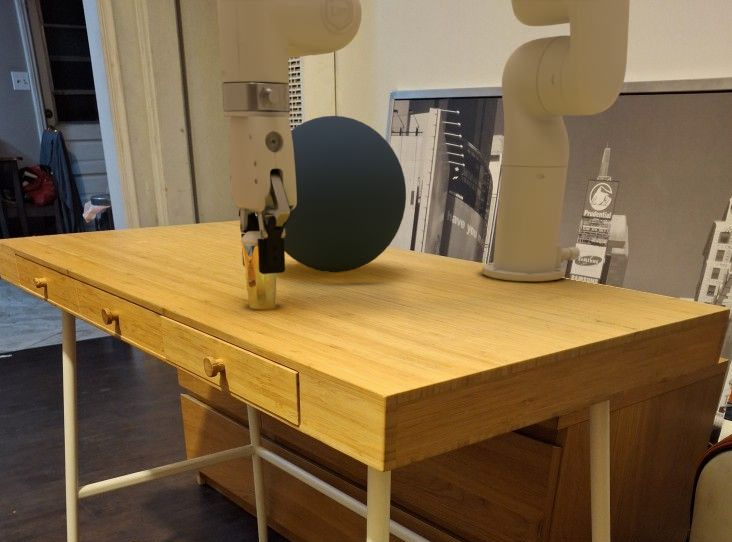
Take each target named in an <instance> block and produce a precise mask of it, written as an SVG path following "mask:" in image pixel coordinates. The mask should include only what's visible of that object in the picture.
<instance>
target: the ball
mask: <svg viewBox="0 0 732 542" xmlns="http://www.w3.org/2000/svg"><path fill="white" fill-rule="evenodd" d="M291 134H292V140H293V149H294V160H295V175H296V193H297V205H296V207H295V208H294V209H293V210H290V215H289V217H288V219H287V220H286V221H287V222H286V225H285V238H284V249H285V254H287V255H288V256H289V257H290V258H291V259H293V260H294V261H296V262H297V263H299V264H300V265H302V266H304V267H306V268H309V269H312V270H315V271H319V272H321V273H332V274H333V273H334V274H335V273H347V272H350V271H354V270H358V269H360V268H362V267H364V266H366V265H368V264H370V263H371V262H372V261H374V260H376V259H377V258H378V257H379V256H380V255H382V254H383V253H384V252H385V250H387V249H388V248H389V246H391V243H392V242H393V240H394V239H395V237H396V235H397V233H398V232H399V230H400V227H401V225H402V222H403V219H404V215H405V211H406V210H405V209H406V203H407V202H406V201H407V185H406V178H405V175H404V171H403V167H402V165H401V163H400V160H399V158H398V156H397V154H396V152H395V151H394V149H393V148H392V146H391V145H390V144H389V142H388V141H387V140H386V139H385V138H384V137H383V136H382V135H381V134H380V133H379V132H378V131H376V130H375V129H374V128H372V127H371V126H370V125H368V124H366V123H365V122H362V121H360V120H357V119H355V118H352V117H348V116H342V115H324V116H319V117H315V118H311V119H309V120H306V121H304V122H302V123H301V124H298V125H297V126H295V127H294V128H293V129H291ZM271 209H274V208H273V207H269V206H265V210H271ZM269 217H270V216H267V217H266V221H267V223H268V220H269Z"/></svg>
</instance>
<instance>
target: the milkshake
mask: <svg viewBox="0 0 732 542" xmlns="http://www.w3.org/2000/svg"><path fill="white" fill-rule="evenodd" d="M243 234H244V233H243ZM258 239H261V235H260V231H249V232H247V233H245V234H244V236H243V237H242V238H241V240H240V244H241V252H242V251H243V257H242V259H243V258H244V266H243V267H244V273H245V281H246V291H247V300H248V306H249V307H250V308H251V309H253V310H270V309H274V308H275V307H276V300H277V299H276V298H277V274H278V273H271V274H262V273H260V272H259V257H258Z"/></svg>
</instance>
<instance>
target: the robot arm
mask: <svg viewBox="0 0 732 542" xmlns="http://www.w3.org/2000/svg"><path fill="white" fill-rule="evenodd" d="M510 1H511V7H512V11H513V15H514V16H515V18H516V19H517V21H518V22H520V24H522V25H525V26H529V27H548V26H555V25H563V24H569V35H555V36H548V37H547V36H546V37H540V38H536V39H532V40H529V41H527V42H524V43H522V44H520V46H518V47H517V48H516V49H515V50H514V51H513V52H512V53H511V54H510V56H509V57H508V59H507V60H506V63H505V65H504V68H503V72H502V77H501V97H502V107H503V126H504V127H503V146H502V147H503V149H502V159H501V160H502V161H501V168H500V180H499V189H498V191H499V192H498V202H497V213H496V214H497V215H496V225H495V237H494V249H493V260H492V262H489V263H485V264H484V265H482V271H481V273H482V274H483V275H485V276H486V277H489V278H493V279H498V280H504V281H505V280H506V281H515V282H550V281H556V280H560V279H563V278H564V277H565V274H566V268H564V267H563V266H561V264H562V263H564V262H565V261H576V260H578V259H579V258H580V256H581V250H580V249H579V247H577V246H571V247H565V248H564V245H563V244H561V243H559V238H560V231H561V223H562V214H563V207H564V199H565V191H566V183H567V174H568V168H569V160H570V141H569V140H570V139H569V135H568V131H567V127H566V125H565V121H564V117H565V116H593V115H597V114H600V113H603V112H606V110H608V109H609V108H611V106H613V105H614V103H615V102H616V101H617V99H618V97H619V95H621V91H622V88H623V86H624V81H625V77H626V72H627V61H628V44H629V24H630V5H631V0H510ZM216 6H217V18H218V19H217V22H218V36H219V54H220V71H221V83H222V84H221V89H222V102H223V104H222V105H223V106H222V107H223V118H229V128H228V156H229V157H228V158H229V162H228V163H229V179H230V180H229V182H230V194H231V200H232V202H233V203H234V204H235V207H236V209H237V212H238V217H239V230H240V233H241V234H240V236H241V237H240V238H241V239H242V237H243V236H244V234H245V233H247V232H249V231H260V235H261V239H258V257H259V272H260V273H262V274H271V273H277V274H282V273H284V272H285V271H286V252H285V249H284V238H285V225H286V222H287V221H286V220H287V219H288V217H289V215H290V210H293V209H294V208H295V207H296V205H297V193H296V175H295V160H294V149H293V140H292V134H291V130H292V127H291V123H290V118H291V102H290V101H291V100H290V99H291V98H290V97H291V95H290V94H291V93H290V62H289V59H292V58H300V57H309V56H318V55H327V54H332V53H335V52H337V51H340V50H342V49H345V48H346V47H347V46H348V45H349V44H350V43H351V42H352V41H353V40H355V39H354V38H355V37H356V35H357V34H358V32H359V30H360V27H361V23H362V16H363V14H362V13H363V12H362V4H361V1H360V0H216ZM563 116H564V117H563ZM265 206H269V207H273V208H274V209H271V210H265ZM267 216H270V217H269V220H268V223H267V221H266V217H267ZM241 254H242V255H241V257H242V265H243V267H245V266H244V258H243V251H242V250H241Z"/></svg>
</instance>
